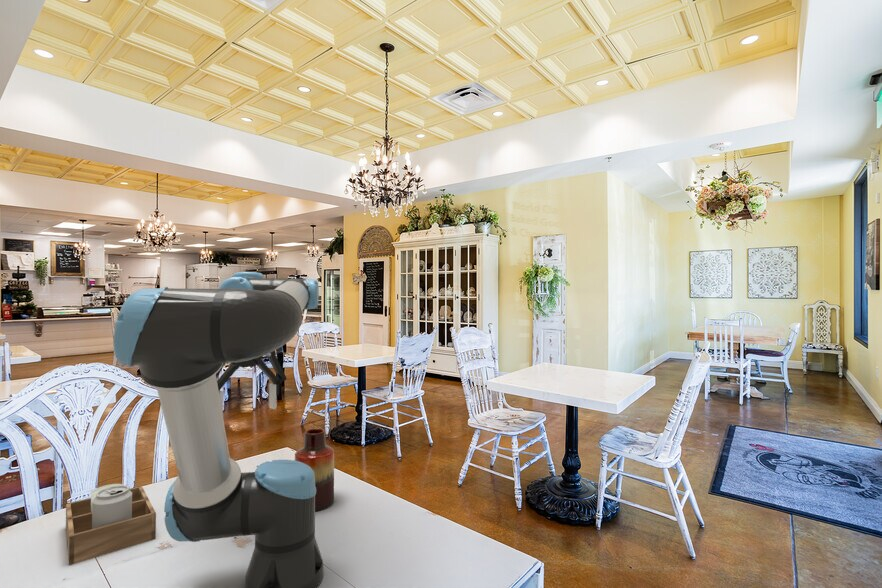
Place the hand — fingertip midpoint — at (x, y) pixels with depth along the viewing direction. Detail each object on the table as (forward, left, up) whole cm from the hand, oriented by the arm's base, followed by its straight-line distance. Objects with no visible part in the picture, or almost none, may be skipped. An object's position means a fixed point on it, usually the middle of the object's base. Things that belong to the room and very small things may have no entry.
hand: (246, 412), depth 114 cm
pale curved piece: (+18, +27, -27) cm, 42 cm away
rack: (+13, +27, -28) cm, 41 cm away
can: (+8, +27, -27) cm, 39 cm away
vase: (-3, -18, -28) cm, 34 cm away
